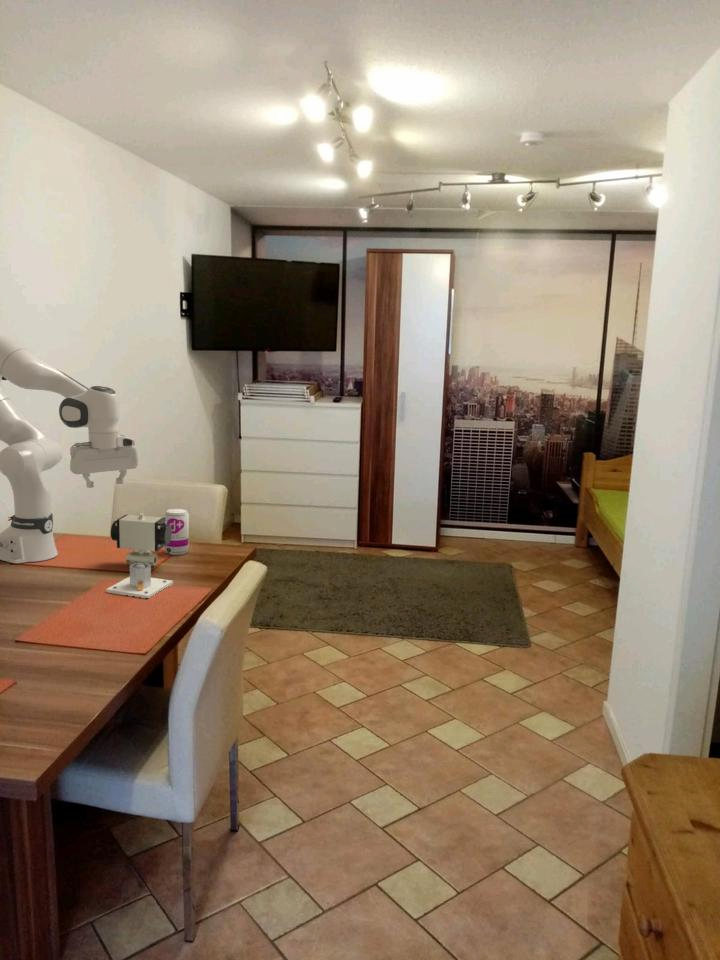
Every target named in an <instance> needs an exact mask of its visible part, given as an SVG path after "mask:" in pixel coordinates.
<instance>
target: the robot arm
mask: <svg viewBox="0 0 720 960" xmlns="http://www.w3.org/2000/svg"><path fill="white" fill-rule="evenodd" d="M2 380H3V381H8V382H10V383H11V384H13V385H15V386H17V387H19V388H21V389H23V390H31V391H32V390H34V391H35V390H36V391H37V390H38V391H45V392H46V391H47V392H52V393H56V394H58V395H61V396H62V397H64V399H63V400H62V401H61V402H60V404H59V406H58V407H59V409H58V413H59V419H60V420H61V422H62V423H63V424H64V425H65V426H66V427H68V428H73V429H79V428H87V429H88V430H87V431H88V441H85V442H74V444H73V445H71V446H70V449H69V450H70V451H69V452H70V453H69V454H70V464H69V469H70V470H69V471H71V472H72V474H75V475H82V478H83V479H84V481H85V482H86V483H85V484H86V488H88V489H92V488H94V481H92V480H91V479H90V477H91V474H94V473H104V472H105V473H106V472H114V471H115V472H116V471H118V472H119V476H118V477H116V478H115V483H116V484H117V485H123V484H124V478H125V477H126V475H127V472H128V471H127V470H134V469H137V467H138V464H139V459H138V458H139V457H138V451H137V448H136V447H135V445H136V440H135V439H134V438H132V437H129V436H125V435H121V434H120V427H119V421H120V420H119V419H120V405H119V398H118V393H117V392H116V390H114V389H113V388H110V387H107V386H103V385H102V386H101V385H94V386H90V387H89V388H88V387H87V386H85V385H84V384H82V383H81V382H79V381H78V380H76V379H74V378H73V377H71V376H69V375H67V374H66V373H65V372H63V371H61V370H59V369H57V368H55V367H54V366H52V365H51V364H49V363H47V362H45V361H44V360H42V359H41V358H40V357H38V356H37V355H35V354H34V353H32V352H31V351H30V350H28V349H27V348H26V347H24V346H23V345H21V344H19V343H18V342H16V341H14V340H12V339H11V338H9V337H7V336H4V335H0V441H1V442H4V443H5V444H6V445H7V446H6V447H4V448H3V449H2V450H0V473H1V474H2V475H4V476H5V477H6V478H7V480H8V482H9V484H10V487H11V490H12V494H13V502H14V503H13V505H14V514H13V515H12V516H10V517H9V516H8V520H7V521H8V522H11V523H10V525H9V526H8V527H7V528H5V529H4V530H3V531H2V532H0V560H1V561H5V562H7V563H12V564H22V563H33V562H43V561H47V560H51V559H54V558H55V557H57V556H58V554H59V552H58V550H57V549H58V548H57V547H56V542H55V537H54V532H53V528H54V526H53V525H54V518H53V517H54V515H53V512H52V502H51V501H52V500H51V499H52V498H51V497H52V496H51V491H50V489H49V488H48V487H47V486H46V485H45V484H44V481H43V480H42V472H44V471H48V470H51V469H52V468H54V467H55V466H56V465H58V463H60V461H61V460H62V457H63V449H62V447H61V445H60V444H59V442H57V441H56V440H55V439H53V438H50V437H48V436H46V435H45V434H43V433H42V431H40V430H39V429H37V428H36V427H35V426H33V425H32V423H31V422H29V421H28V420H27V418H25V416H24V414H22V412H21V411H20V410H19V409H18V407H17V406H16V404H15V403H14V402H13V400H12V399H11V397H10V396H9V395H8V394H7V393H6V392H5V389H4V388H3V386H2Z"/></svg>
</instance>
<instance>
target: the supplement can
mask: <svg viewBox="0 0 720 960" xmlns="http://www.w3.org/2000/svg"><path fill="white" fill-rule="evenodd" d="M164 517H165V518H166V522H167V524H169V525H170V526H171V529H172V536H171V540H170V543H169V544H168V545H165V546H164V552H165V554H167V553H169V554H171V555H170V556H181V555H185V554H188V552H189V550H190V549H189V547H190V543H189V542H190V539H189V538H190V535H189V533H190V527H189V526H190V515H189V512H188V510H187V509H184V508H170V509H169V508H167V510H166V512H165V513H164ZM169 554H168V555H169Z"/></svg>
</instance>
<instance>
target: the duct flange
mask: <svg viewBox="0 0 720 960" xmlns="http://www.w3.org/2000/svg"><path fill="white" fill-rule="evenodd" d="M135 568H137V569H138V568H145V565H142V564H139V565H136V566H135ZM173 584H174V581H173V580H168V579H163V578H156V577H151V586H149V587H147V588H143V590H140V591H138V589H136V588H132V587H130V576H127V577H126V578H124V579H122V580H121V581H118V582H117V583H115V584H114V585H112V586H109V587H108V588H106V589H105V592H106V593H109V594H114V595H115V594H116V595H119V596H120V595H121V596H126V595H128V597H132V596H135V597H134V598H139V597H141V598H140V599H145V598H149V599H151V598H152V597H151V596H153V595H154V596H156V595H157V594H156V593H158V592H159V591H161V590H162V591H164V590H165V589H164V588H166V587H167V588H169V587H171V586H172V585H173ZM168 586H169V587H168ZM167 588H166V589H167ZM163 589H164V590H163ZM162 591H161V592H162ZM159 593H160V592H159ZM159 593H158V594H159ZM155 594H156V595H155ZM154 596H153V597H154ZM150 597H151V598H150Z"/></svg>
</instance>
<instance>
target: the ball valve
mask: <svg viewBox="0 0 720 960" xmlns="http://www.w3.org/2000/svg"><path fill="white" fill-rule="evenodd" d="M171 536H172V529H171V526H170V525H169V524H167V522H166V518H165V516H164V517H163V516H151V515H145V514H144V512H140V513H138V515H135V514H124V515H122V516H121V517H119V518H116V520H114V521H113V522H112V524H111V527H110V538H111V540H112V541H113V542H115V544H116V549H122V550H123V549H124V550H132V551H130V552H127V554H126V556H125V562H126V564H127V565H129V566H130V565H132V564H135V563H148V564H151V567H155V566H156V565H157V563H158V555H157V554H156V553H154V552H159V551H161V549H163V548H165V545H168V544H169V543H170V540H171Z"/></svg>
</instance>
